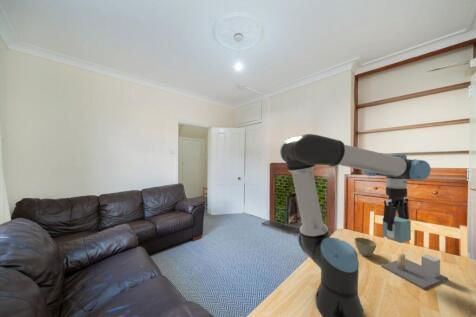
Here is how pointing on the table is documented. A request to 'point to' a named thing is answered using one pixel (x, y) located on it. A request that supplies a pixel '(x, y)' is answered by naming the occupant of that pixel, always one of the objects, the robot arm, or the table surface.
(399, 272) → the stand
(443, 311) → the table surface
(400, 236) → the pale blue block
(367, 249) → the grey brown bowl
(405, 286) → the table surface
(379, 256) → the table surface
